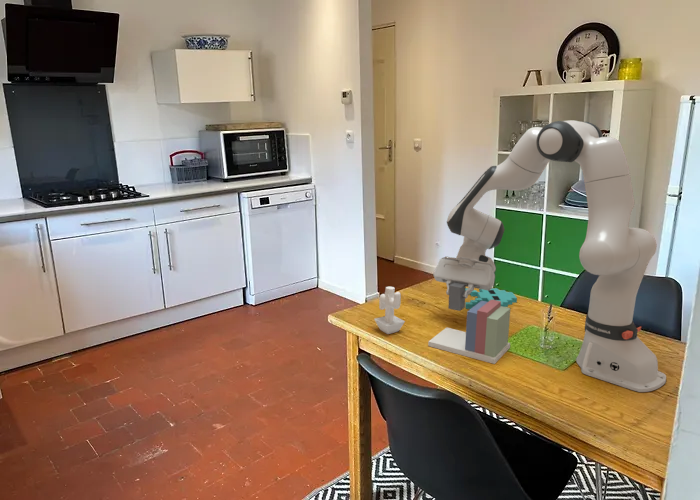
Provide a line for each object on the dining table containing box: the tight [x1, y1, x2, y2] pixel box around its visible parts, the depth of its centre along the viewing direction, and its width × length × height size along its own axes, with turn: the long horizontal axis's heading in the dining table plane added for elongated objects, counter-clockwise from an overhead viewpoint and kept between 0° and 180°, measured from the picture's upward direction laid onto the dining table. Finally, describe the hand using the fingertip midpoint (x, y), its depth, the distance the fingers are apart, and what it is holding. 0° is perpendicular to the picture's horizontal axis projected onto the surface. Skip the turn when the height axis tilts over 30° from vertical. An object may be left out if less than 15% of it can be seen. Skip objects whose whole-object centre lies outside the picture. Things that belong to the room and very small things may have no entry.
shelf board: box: [427, 300, 511, 365], centre depth 160 cm, size 21×13×14 cm, turn 55°
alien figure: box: [465, 287, 518, 310], centre depth 202 cm, size 20×2×20 cm
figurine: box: [373, 286, 406, 335], centre depth 172 cm, size 7×9×15 cm
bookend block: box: [448, 282, 467, 312], centre depth 174 cm, size 4×4×8 cm
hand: (456, 295), depth 173 cm, fingers closed on bookend block, 4 cm apart
